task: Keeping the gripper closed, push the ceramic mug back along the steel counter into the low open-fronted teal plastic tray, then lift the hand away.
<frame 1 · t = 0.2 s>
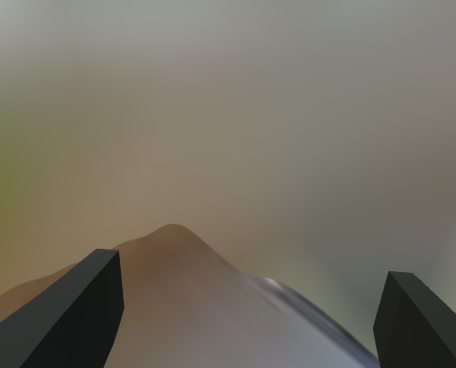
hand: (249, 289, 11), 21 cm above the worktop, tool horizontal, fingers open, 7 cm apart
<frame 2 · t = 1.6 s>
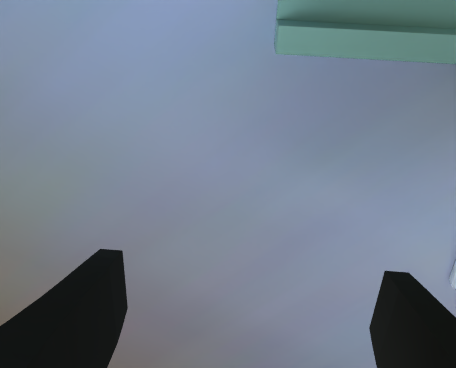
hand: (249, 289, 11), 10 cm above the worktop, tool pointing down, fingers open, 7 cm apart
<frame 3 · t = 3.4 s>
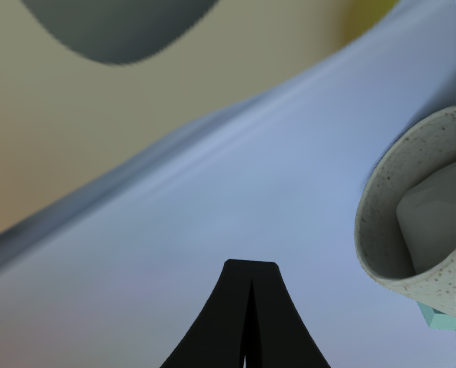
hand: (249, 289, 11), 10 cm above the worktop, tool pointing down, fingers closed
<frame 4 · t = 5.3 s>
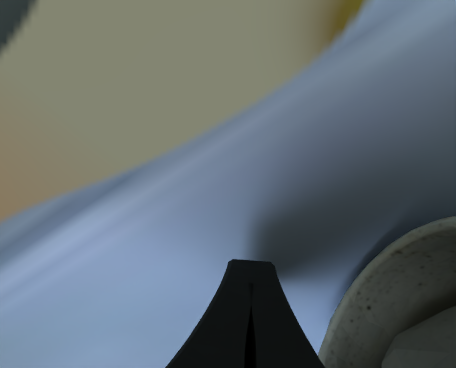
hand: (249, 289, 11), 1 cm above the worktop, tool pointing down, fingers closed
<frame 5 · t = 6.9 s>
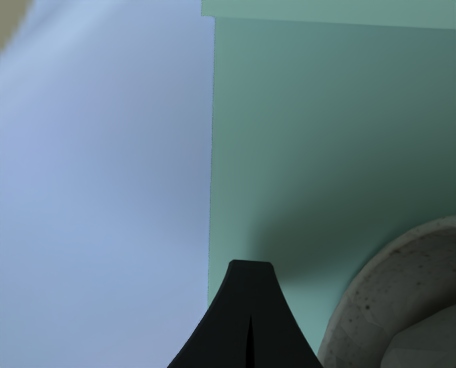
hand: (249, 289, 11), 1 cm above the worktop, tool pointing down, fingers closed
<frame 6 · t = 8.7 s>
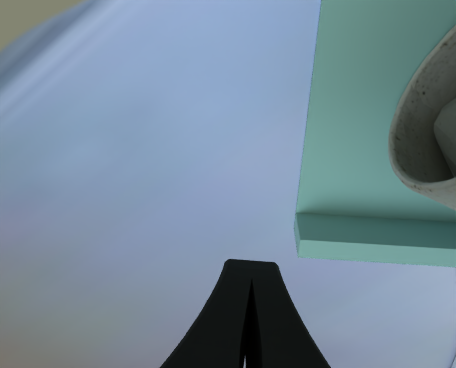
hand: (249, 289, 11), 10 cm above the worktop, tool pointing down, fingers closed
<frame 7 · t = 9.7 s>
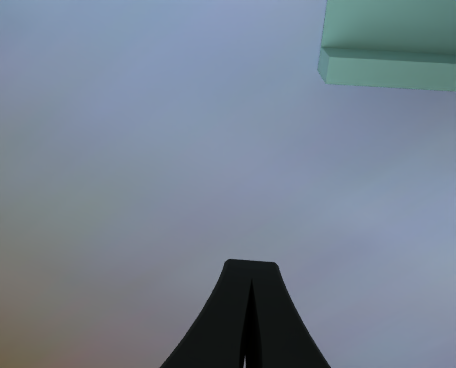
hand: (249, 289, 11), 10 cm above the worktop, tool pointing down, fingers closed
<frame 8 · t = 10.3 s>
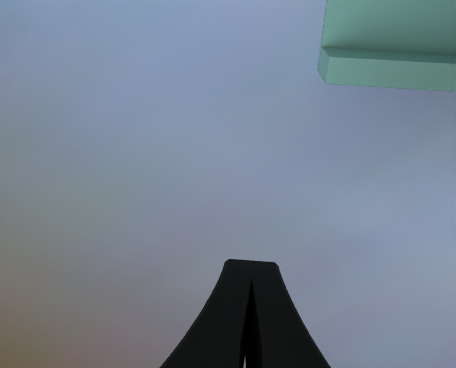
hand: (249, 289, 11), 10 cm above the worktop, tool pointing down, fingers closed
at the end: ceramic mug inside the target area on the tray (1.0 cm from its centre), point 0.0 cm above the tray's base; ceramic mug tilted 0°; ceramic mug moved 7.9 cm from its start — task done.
